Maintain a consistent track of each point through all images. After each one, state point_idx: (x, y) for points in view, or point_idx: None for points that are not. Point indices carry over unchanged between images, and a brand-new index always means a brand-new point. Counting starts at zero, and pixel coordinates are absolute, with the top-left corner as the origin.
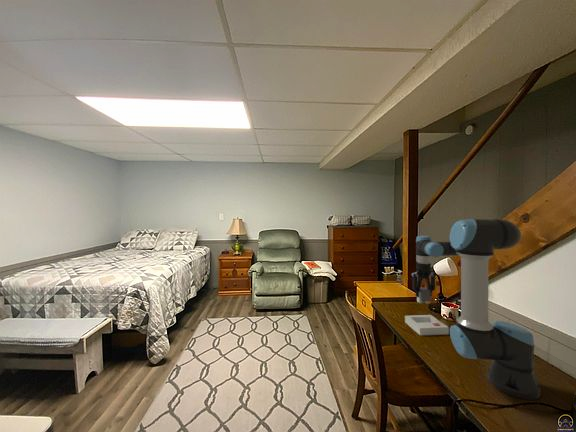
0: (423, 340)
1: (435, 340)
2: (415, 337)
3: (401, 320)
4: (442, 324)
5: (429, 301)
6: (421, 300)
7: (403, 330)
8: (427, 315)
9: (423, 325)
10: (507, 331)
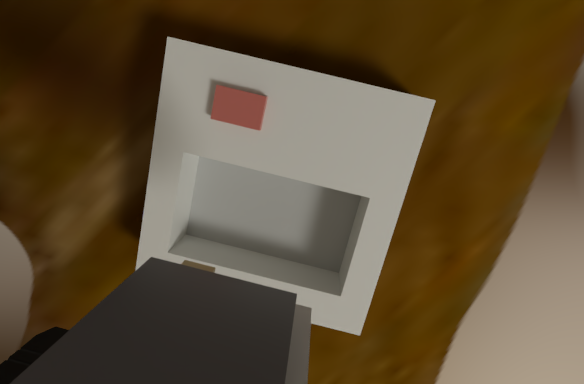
0: (452, 31)
1: (362, 2)
2: (472, 90)
3: (353, 336)
4: (179, 97)
5: None
6: (293, 310)
7: (468, 209)
8: None
9: (359, 134)
10: None
